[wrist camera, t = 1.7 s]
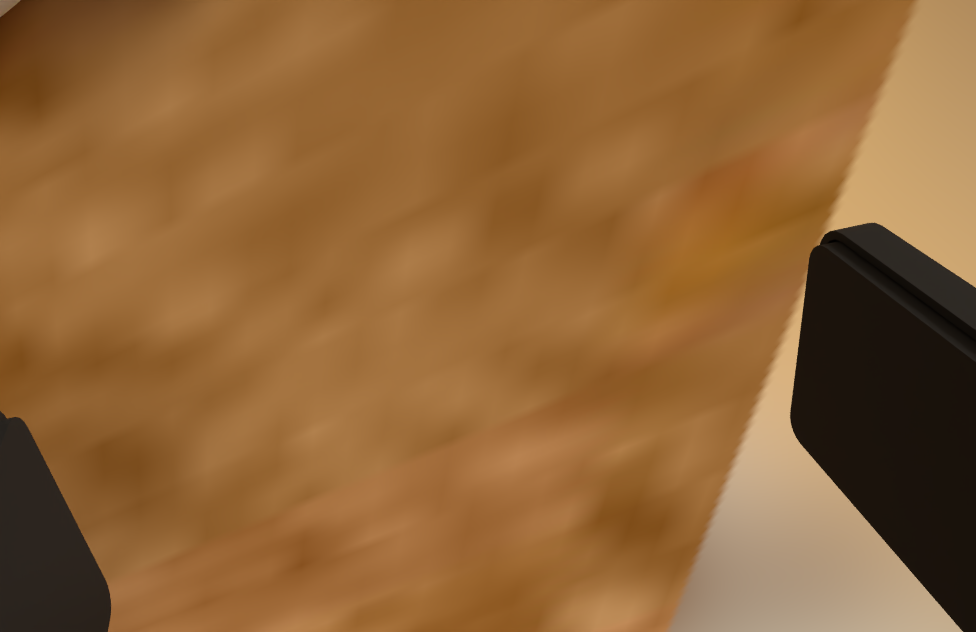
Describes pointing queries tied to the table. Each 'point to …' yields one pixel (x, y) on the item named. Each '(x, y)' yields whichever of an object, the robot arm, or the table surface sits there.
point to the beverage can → (7, 5)
